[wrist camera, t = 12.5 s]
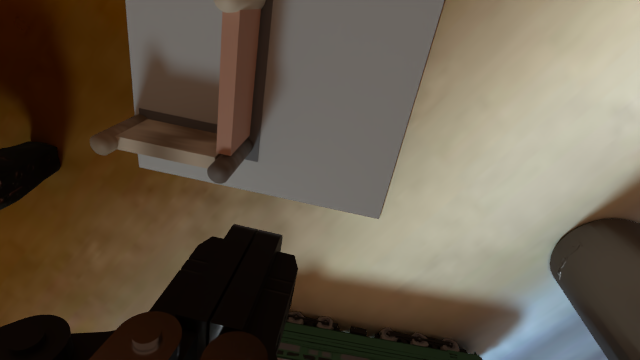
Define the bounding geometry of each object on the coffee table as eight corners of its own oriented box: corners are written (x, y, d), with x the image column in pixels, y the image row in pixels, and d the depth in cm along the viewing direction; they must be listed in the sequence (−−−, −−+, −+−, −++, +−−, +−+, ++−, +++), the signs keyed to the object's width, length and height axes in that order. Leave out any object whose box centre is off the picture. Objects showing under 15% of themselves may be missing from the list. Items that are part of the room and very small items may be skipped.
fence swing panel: (252, 136, 33) (229, 161, 28) (234, 131, 33) (207, 156, 28) (266, -13, 27) (241, -17, 22) (244, -18, 27) (213, -22, 22)
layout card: (447, -14, 26) (448, -14, 26) (378, 217, 36) (378, 219, 36) (121, -75, 27) (118, -76, 27) (140, 165, 37) (138, 167, 37)
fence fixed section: (253, 138, 33) (229, 166, 28) (252, 155, 34) (228, 185, 29) (132, 112, 34) (84, 135, 28) (134, 129, 35) (87, 155, 29)
